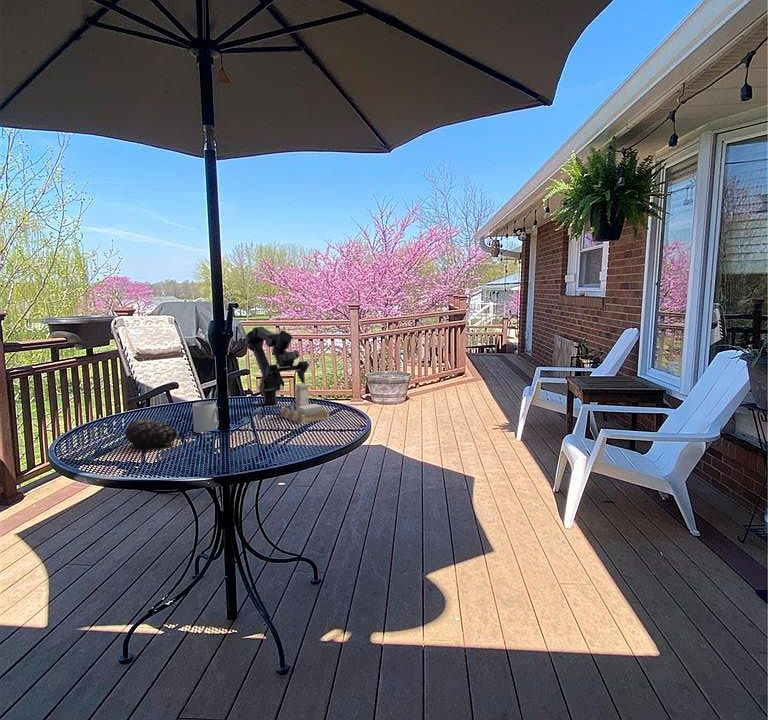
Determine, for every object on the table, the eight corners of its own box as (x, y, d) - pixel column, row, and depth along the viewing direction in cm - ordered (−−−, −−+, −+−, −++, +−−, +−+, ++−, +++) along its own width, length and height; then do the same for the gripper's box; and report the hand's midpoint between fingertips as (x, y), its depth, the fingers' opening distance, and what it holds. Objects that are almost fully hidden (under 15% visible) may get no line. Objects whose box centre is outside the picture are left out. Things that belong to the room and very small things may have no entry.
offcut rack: (279, 416, 204) (279, 407, 204) (308, 411, 213) (308, 402, 212) (300, 426, 188) (300, 416, 188) (331, 420, 197) (331, 410, 196)
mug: (190, 434, 180) (187, 406, 179) (200, 428, 189) (198, 401, 187) (221, 434, 179) (219, 406, 178) (229, 428, 188) (228, 401, 186)
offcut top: (298, 412, 196) (297, 406, 196) (315, 409, 201) (315, 403, 200) (304, 415, 191) (304, 409, 191) (322, 412, 196) (322, 406, 196)
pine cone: (174, 449, 163) (171, 421, 161) (121, 451, 162) (118, 422, 161) (186, 440, 173) (183, 413, 172) (136, 441, 173) (134, 414, 171)
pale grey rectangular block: (296, 414, 203) (294, 384, 201) (303, 413, 205) (302, 383, 203) (301, 416, 199) (300, 386, 197) (309, 415, 201) (307, 385, 199)
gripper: (266, 346, 202) (278, 375, 195) (306, 343, 213) (319, 370, 206) (260, 363, 210) (271, 391, 202) (298, 358, 221) (311, 385, 213)
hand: (293, 384), depth 206 cm, fingers open, 9 cm apart
